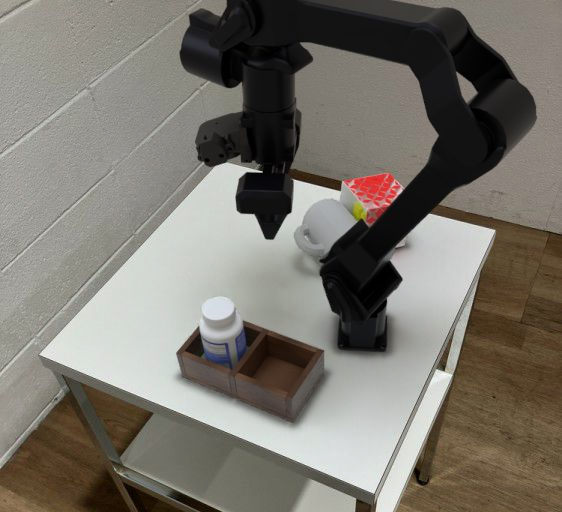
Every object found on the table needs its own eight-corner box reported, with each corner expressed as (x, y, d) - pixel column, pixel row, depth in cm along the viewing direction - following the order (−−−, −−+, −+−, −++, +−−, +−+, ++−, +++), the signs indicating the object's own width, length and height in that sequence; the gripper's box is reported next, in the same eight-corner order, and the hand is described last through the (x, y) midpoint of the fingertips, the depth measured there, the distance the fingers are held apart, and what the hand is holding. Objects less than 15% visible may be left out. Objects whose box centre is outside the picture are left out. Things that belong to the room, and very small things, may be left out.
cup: (339, 233, 100) (366, 267, 95) (282, 245, 97) (306, 280, 92) (346, 193, 95) (375, 226, 90) (285, 204, 92) (312, 239, 87)
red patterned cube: (342, 180, 93) (367, 209, 89) (388, 172, 96) (415, 200, 91) (335, 226, 99) (358, 256, 95) (379, 217, 102) (404, 246, 97)
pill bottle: (235, 339, 85) (227, 285, 78) (255, 364, 82) (249, 311, 75) (199, 356, 84) (187, 302, 76) (218, 383, 81) (208, 330, 73)
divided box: (324, 373, 82) (324, 350, 78) (292, 422, 77) (291, 399, 74) (217, 332, 87) (212, 309, 84) (181, 376, 83) (175, 352, 79)
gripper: (209, 57, 76) (221, 170, 88) (181, 145, 64) (199, 262, 77) (302, 59, 75) (301, 173, 87) (290, 148, 64) (291, 265, 76)
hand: (272, 215), depth 82 cm, fingers open, 9 cm apart
